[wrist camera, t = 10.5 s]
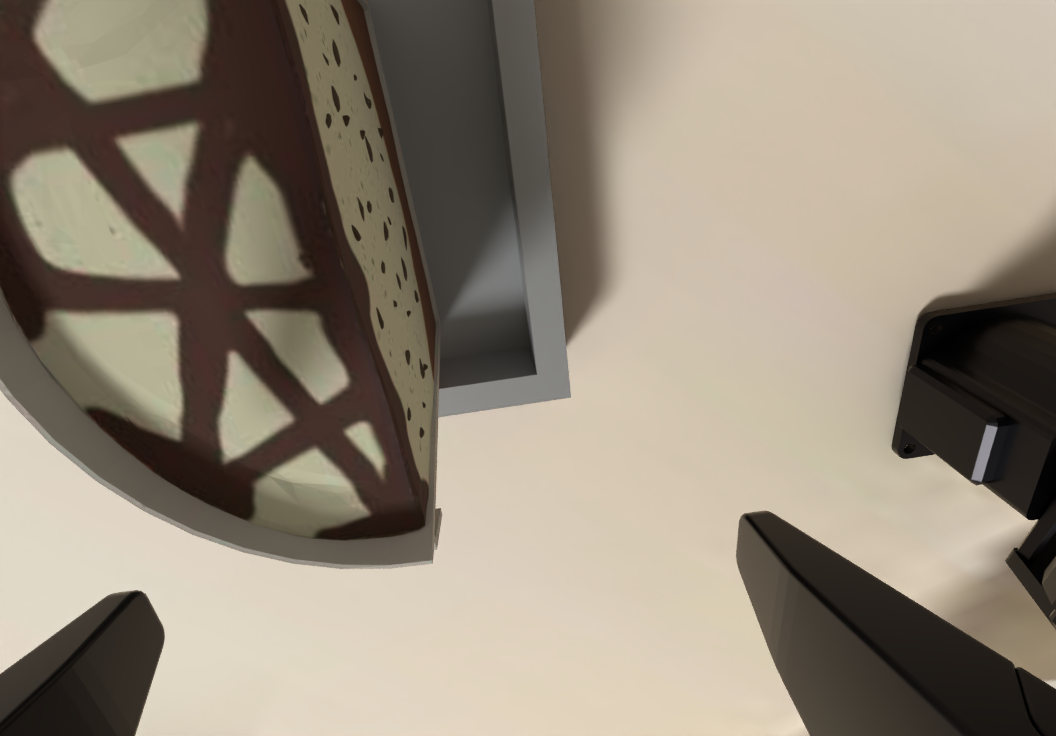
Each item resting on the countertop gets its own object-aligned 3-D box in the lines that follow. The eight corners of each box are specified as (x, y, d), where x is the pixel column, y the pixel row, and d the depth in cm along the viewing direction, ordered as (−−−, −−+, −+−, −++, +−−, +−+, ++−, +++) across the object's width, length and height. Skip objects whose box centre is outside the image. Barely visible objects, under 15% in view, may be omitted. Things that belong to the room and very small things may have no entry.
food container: (109, -31, 15) (-455, -215, 6) (353, -68, 15) (180, -304, 6) (274, 393, 20) (121, 641, 11) (449, 363, 20) (439, 583, 11)
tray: (492, -279, 14) (500, -365, 11) (557, 358, 21) (570, 397, 19) (-22, -225, 13) (-143, -303, 11) (230, 406, 21) (196, 453, 18)
